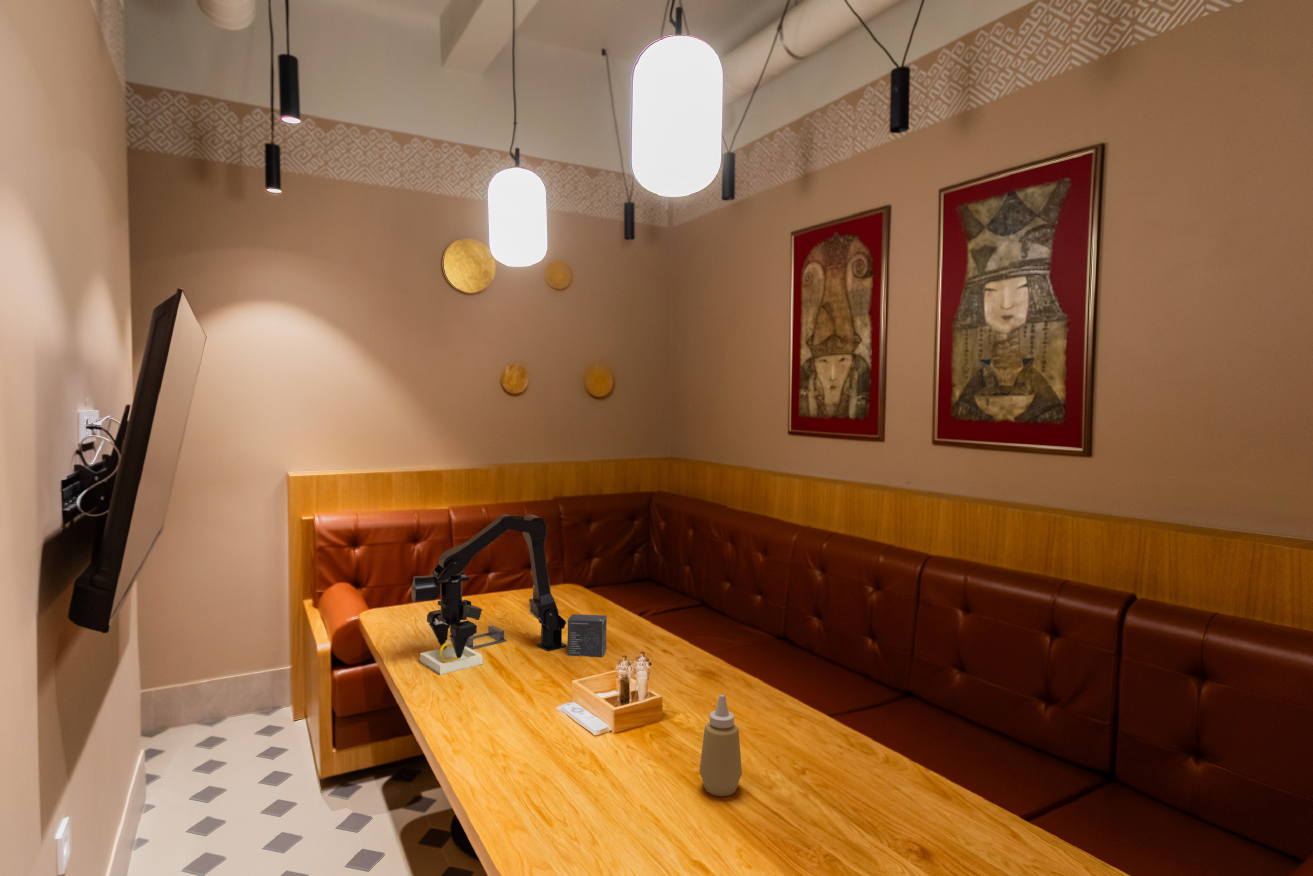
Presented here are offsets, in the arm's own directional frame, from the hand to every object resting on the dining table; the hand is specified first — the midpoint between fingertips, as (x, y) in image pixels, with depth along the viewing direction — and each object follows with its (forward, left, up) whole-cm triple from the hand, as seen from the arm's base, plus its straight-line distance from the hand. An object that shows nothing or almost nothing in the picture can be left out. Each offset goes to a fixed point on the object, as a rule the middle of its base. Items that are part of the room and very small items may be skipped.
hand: (451, 653), depth 199 cm
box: (-17, -34, -3) cm, 38 cm away
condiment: (+26, -47, -3) cm, 54 cm away
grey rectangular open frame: (+11, -15, -3) cm, 19 cm away
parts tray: (0, 0, -3) cm, 3 cm away
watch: (0, 0, -2) cm, 3 cm away
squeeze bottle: (-93, -9, -3) cm, 93 cm away
